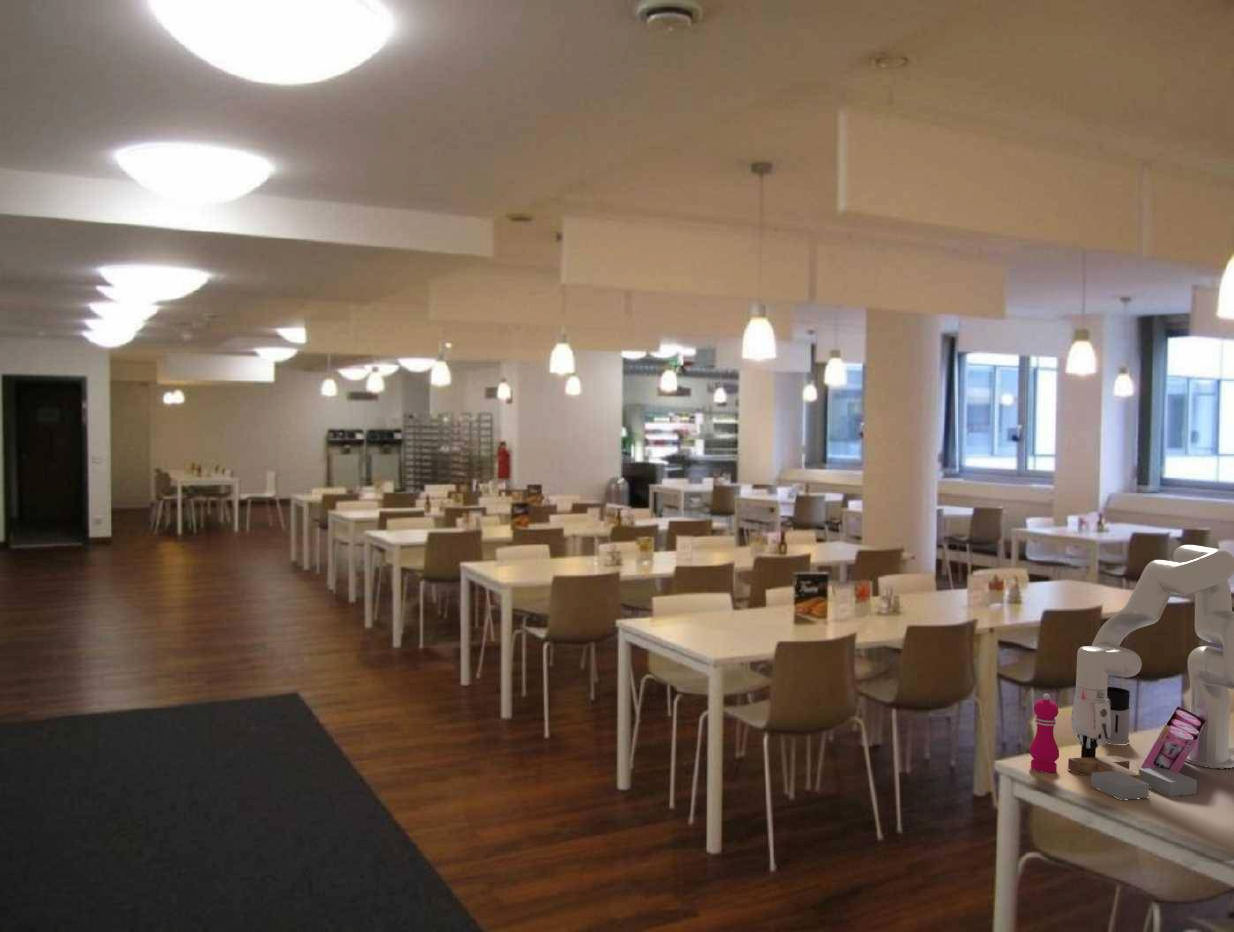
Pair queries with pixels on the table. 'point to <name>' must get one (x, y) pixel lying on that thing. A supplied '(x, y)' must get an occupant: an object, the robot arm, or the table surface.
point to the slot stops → (1143, 783)
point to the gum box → (1175, 741)
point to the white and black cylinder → (1118, 715)
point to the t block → (1101, 765)
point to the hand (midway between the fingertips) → (1088, 761)
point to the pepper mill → (1044, 736)
